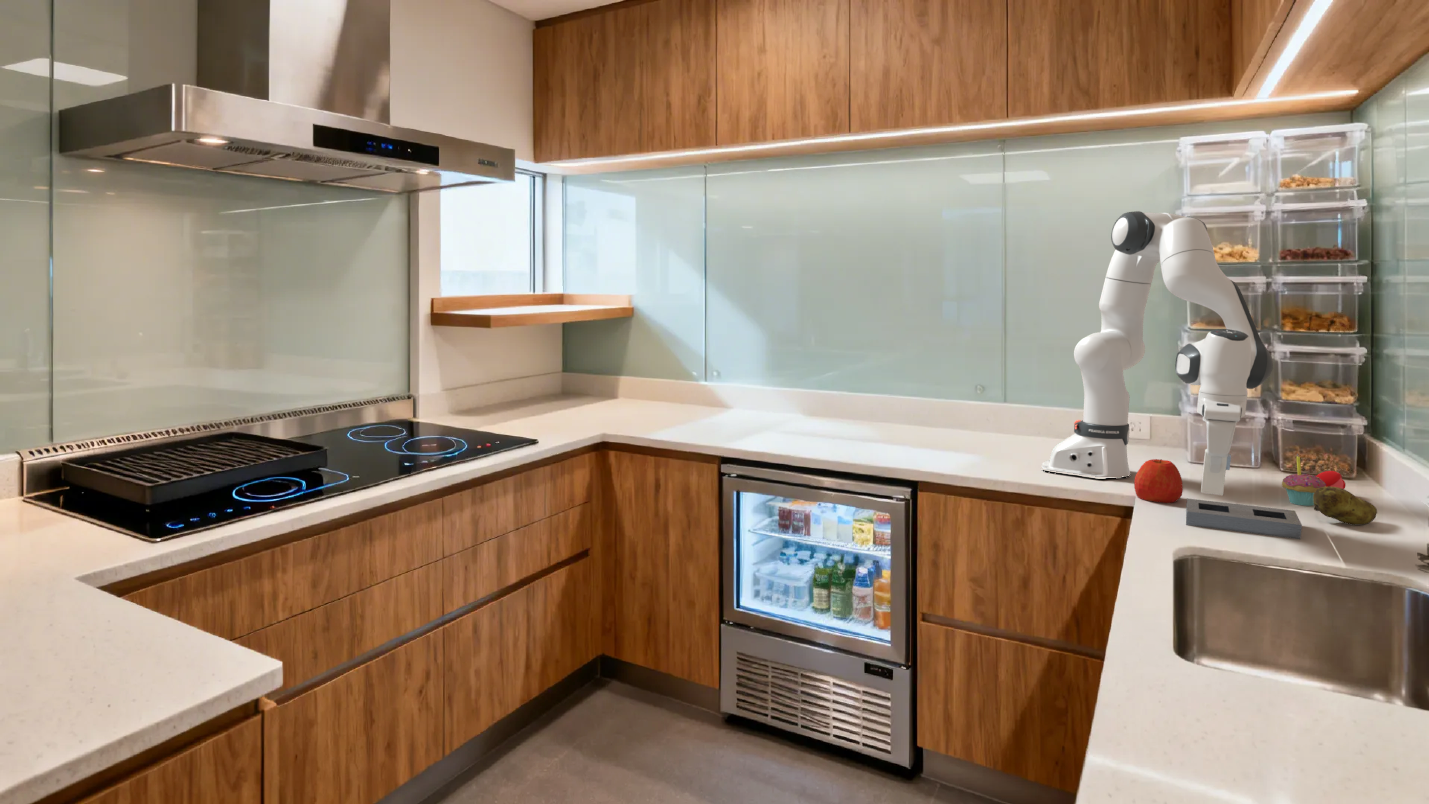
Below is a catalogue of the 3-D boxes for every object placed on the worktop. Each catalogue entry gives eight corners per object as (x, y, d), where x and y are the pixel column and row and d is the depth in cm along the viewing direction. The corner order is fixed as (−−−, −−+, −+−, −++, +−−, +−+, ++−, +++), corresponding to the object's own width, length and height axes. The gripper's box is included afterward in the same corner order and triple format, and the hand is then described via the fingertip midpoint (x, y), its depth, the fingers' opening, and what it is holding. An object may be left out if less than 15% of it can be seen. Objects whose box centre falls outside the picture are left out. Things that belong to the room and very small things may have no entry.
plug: (1201, 492, 174) (1205, 452, 173) (1201, 488, 178) (1205, 448, 176) (1226, 496, 172) (1231, 454, 170) (1226, 491, 175) (1230, 451, 174)
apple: (1140, 505, 190) (1144, 462, 188) (1126, 494, 200) (1130, 453, 198) (1188, 508, 188) (1191, 464, 186) (1171, 496, 198) (1175, 454, 196)
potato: (1389, 530, 170) (1393, 494, 169) (1318, 526, 174) (1322, 490, 173) (1369, 519, 178) (1373, 484, 177) (1302, 515, 182) (1305, 481, 181)
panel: (1185, 527, 173) (1187, 511, 172) (1185, 513, 183) (1186, 498, 183) (1300, 542, 163) (1301, 525, 162) (1293, 526, 173) (1294, 510, 173)
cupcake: (1291, 507, 188) (1296, 457, 187) (1272, 497, 197) (1277, 449, 195) (1332, 508, 187) (1338, 458, 185) (1311, 499, 195) (1316, 450, 194)
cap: (1330, 478, 203) (1310, 466, 203) (1352, 475, 197) (1331, 463, 197) (1320, 505, 201) (1300, 493, 201) (1342, 504, 195) (1321, 491, 195)
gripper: (1203, 398, 182) (1197, 458, 184) (1204, 411, 165) (1197, 477, 167) (1236, 401, 179) (1229, 461, 181) (1241, 414, 162) (1233, 481, 164)
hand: (1214, 469), depth 174 cm, fingers closed on plug, 4 cm apart
